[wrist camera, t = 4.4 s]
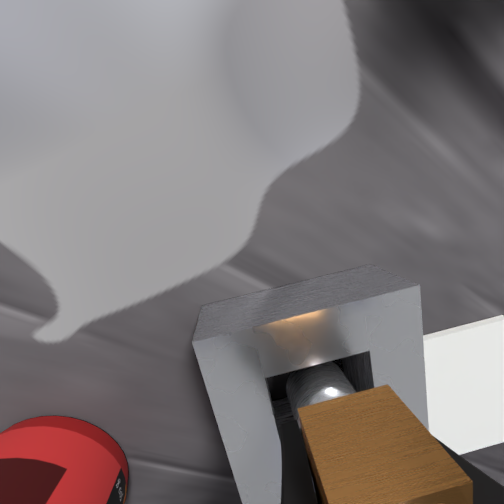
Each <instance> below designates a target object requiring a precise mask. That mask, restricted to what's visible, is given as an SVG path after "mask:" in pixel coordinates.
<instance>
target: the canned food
mask: <svg viewBox="0 0 504 504" xmlns="http://www.w3.org/2000/svg"><path fill="white" fill-rule="evenodd" d="M127 482H128V465H127V461H126V458H125V455H124V453H123V451H122V450H121V448H120V447H119V445H118V444H117V443H116V442H115V441H114V440H113V439H112V438H111V437H110V436H109V435H108V434H107V433H106V432H104V431H103V430H101V429H100V428H98V427H96V426H94V425H92V424H90V423H88V422H85V421H82V420H78V419H75V418H71V417H62V416H41V417H36V418H31V419H27V420H24V421H21V422H19V423H16V424H14V425H12V426H11V427H9V428H8V429H6V430H5V431H3V432H2V433H0V504H124V502H125V499H126V491H127Z"/></svg>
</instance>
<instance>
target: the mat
mask: <svg viewBox="0 0 504 504" xmlns="http://www.w3.org/2000/svg"><path fill="white" fill-rule="evenodd" d="M423 344H424V360H425V376H426V392H427V408H428V424H429V432H430V433H431V434H432V435H433V436H434V437H435V438H437V439H438V440H439V441H441V442H442V443H444V444H445V445H446V446H448V447H449V448H450V449H452V450H453V451H454V452H456V453H457V454H458V455H460V454H464V453H467V452H470V451H474V450H477V449H481V448H484V447H488V446H491V445H495V444H498V443H502V442H504V316H503V315H500V316H496V317H492V318H489V319H485V320H481V321H477V322H473V323H469V324H466V325H462V326H458V327H454V328H450V329H446V330H443V331H439V332H435V333H431V334H427V335H424V336H423Z"/></svg>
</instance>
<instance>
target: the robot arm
mask: <svg viewBox="0 0 504 504" xmlns="http://www.w3.org/2000/svg"><path fill="white" fill-rule="evenodd" d="M279 432H280V440H281V458H282V479H281V504H318V503H317V499H316V494H315V490H314V485H313V481H312V476H311V472H310V467H309V462H308V458H307V453H306V449H305V444H304V440H303V437H302V434H301V431H300V428H299V425H298V422H297V420H294V421H290V422H286V423H283V424H281V425H280V426H279ZM433 437H434V436H433ZM434 438H435V437H434ZM435 439H436V440H437V441H438V442H439V443H440V445H441V446H442V447H443V448H444V449H445V450H446V452H447V453H448V454H449V455H450V456H451V457H452V458H453V460H454V461H455V462H456V463H457V464H458V465H459V466H460V468H461V469H462V470H463V471H464V472H465V473H466V474H467V476H468V477H469V478H470V479H471V480H472V481H473V504H504V486H502V485H501V484H499V483H498V482H496V481H495V480H493V479H492V478H491V477H489V476H488V475H486V474H485V473H483V472H482V471H481V470H479V469H478V468H476V467H475V466H473V465H472V464H471V463H469V462H468V461H466V460H465V459H464V458H462V457H461V456H460V455H458V454H457V453H456V452H454V451H453V450H452V449H450V448H449V447H448V446H446V445H445V444H444V443H442V442H441V441H439V440H438V439H437V438H435Z"/></svg>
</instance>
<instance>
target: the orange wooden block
mask: <svg viewBox="0 0 504 504" xmlns="http://www.w3.org/2000/svg"><path fill="white" fill-rule="evenodd" d="M286 393H287V396H288V400H289V403H290V406H291V410H292V413H293V416H294V420H297V422H298V425H299V428H300V431H301V434H302V437H303V440H304V444H305V449H306V453H307V458H308V462H309V467H310V472H311V476H312V480H313V485H314V489H315V494H316V499H317V503H318V504H473V481H472V480H471V479H470V478H469V477H468V476H467V474H466V473H465V472H464V471H463V470H462V469H461V468H460V466H459V465H458V464H457V463H456V462H455V461H454V460H453V458H452V457H451V456H450V455H449V454H448V453H447V452H446V450H445V449H444V448H443V447H442V446H441V445H440V443H439V442H438V441H437V440H436V439H435V438H434V437H433V435H432V434H431V433H430V432H429V431H428V430H427V429H426V427H425V426H424V425H423V424H422V423H421V422H420V421H419V419H418V418H417V417H416V416H415V415H414V414H413V413H412V411H411V410H410V409H409V408H408V407H407V406H406V405H405V403H404V402H403V401H402V400H401V399H400V398H399V397H398V395H397V394H396V393H395V392H394V391H393V390H392V389H391V387H390V386H389V385H388V384H387V385H383V386H379V387H375V388H372V389H368V390H364V391H361V392H357V393H356V391H355V390H354V388H353V387H352V385H351V384H350V382H349V381H348V379H347V378H346V376H345V375H344V373H343V372H342V370H341V369H340V368H339V366H338V365H336V364H335V363H334V362H332V361H329V362H325V363H321V364H317V365H313V366H310V367H306V368H302V369H298V370H294V371H292V372H291V374H290V375H289V377H288V379H287V383H286Z"/></svg>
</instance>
